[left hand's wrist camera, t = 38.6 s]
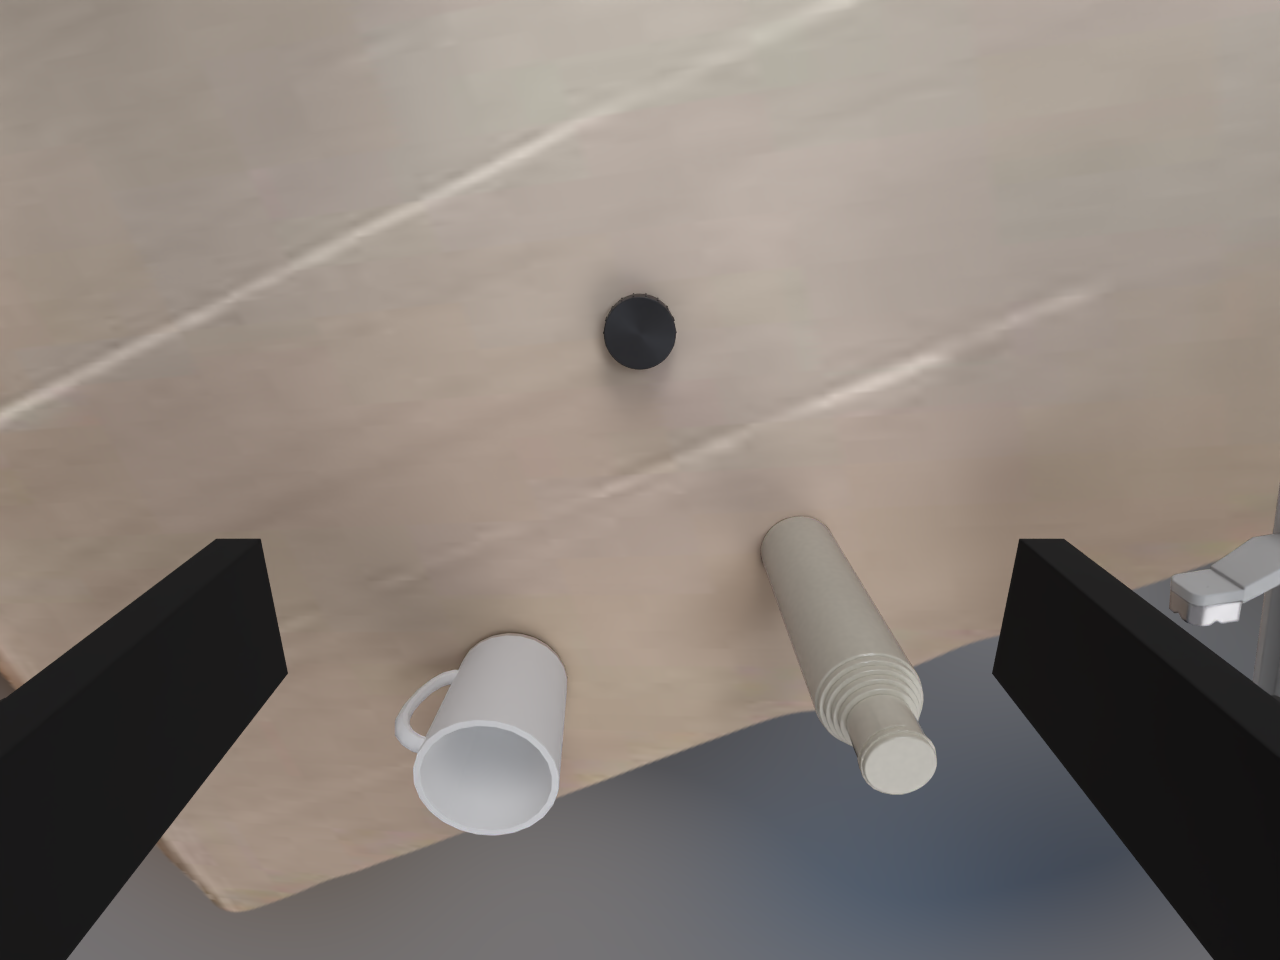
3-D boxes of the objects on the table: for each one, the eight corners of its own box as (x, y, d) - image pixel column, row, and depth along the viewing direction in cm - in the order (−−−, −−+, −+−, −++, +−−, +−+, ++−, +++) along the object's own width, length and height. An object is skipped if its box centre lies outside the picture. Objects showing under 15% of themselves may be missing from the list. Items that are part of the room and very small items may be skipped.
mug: (593, 654, 52) (583, 753, 43) (544, 742, 55) (524, 853, 46) (454, 596, 51) (410, 685, 41) (411, 689, 54) (360, 793, 44)
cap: (674, 363, 45) (676, 369, 43) (605, 363, 45) (603, 370, 43) (675, 292, 44) (677, 296, 42) (603, 293, 44) (602, 296, 42)
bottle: (753, 526, 49) (829, 731, 29) (827, 507, 49) (954, 703, 29) (769, 590, 51) (850, 824, 31) (840, 572, 50) (969, 799, 31)
